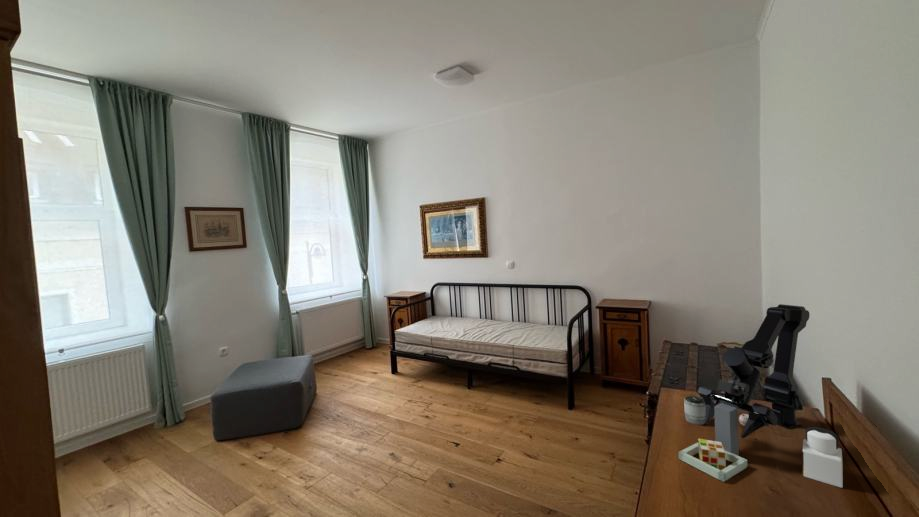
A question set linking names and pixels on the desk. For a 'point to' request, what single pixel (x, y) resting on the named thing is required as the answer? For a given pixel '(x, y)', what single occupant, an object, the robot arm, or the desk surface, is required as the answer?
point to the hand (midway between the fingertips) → (723, 430)
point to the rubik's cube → (712, 453)
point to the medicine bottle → (822, 456)
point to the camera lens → (695, 410)
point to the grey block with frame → (729, 438)
